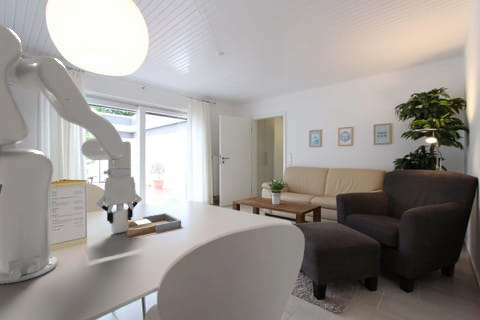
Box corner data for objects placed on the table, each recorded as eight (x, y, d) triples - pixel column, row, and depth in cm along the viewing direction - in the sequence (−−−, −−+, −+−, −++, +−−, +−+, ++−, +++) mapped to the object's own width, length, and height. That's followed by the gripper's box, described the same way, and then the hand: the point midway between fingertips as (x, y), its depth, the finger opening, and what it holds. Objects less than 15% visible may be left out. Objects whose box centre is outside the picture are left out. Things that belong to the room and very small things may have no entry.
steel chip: (151, 228, 90) (151, 222, 90) (138, 231, 87) (138, 224, 87) (146, 225, 94) (146, 219, 94) (133, 227, 91) (133, 221, 91)
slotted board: (184, 230, 91) (183, 222, 91) (130, 242, 78) (130, 233, 78) (165, 219, 107) (164, 213, 107) (117, 228, 94) (117, 220, 94)
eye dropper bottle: (112, 230, 86) (112, 199, 86) (128, 228, 88) (128, 198, 88) (110, 234, 82) (110, 201, 82) (127, 232, 84) (127, 200, 84)
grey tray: (181, 226, 93) (181, 220, 92) (156, 232, 86) (155, 225, 86) (166, 218, 105) (166, 213, 105) (143, 222, 98) (142, 216, 98)
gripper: (94, 174, 77) (94, 228, 77) (146, 172, 88) (147, 219, 88) (91, 173, 82) (91, 223, 83) (140, 171, 93) (141, 215, 94)
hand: (120, 220), depth 85 cm, fingers closed on eye dropper bottle, 5 cm apart
